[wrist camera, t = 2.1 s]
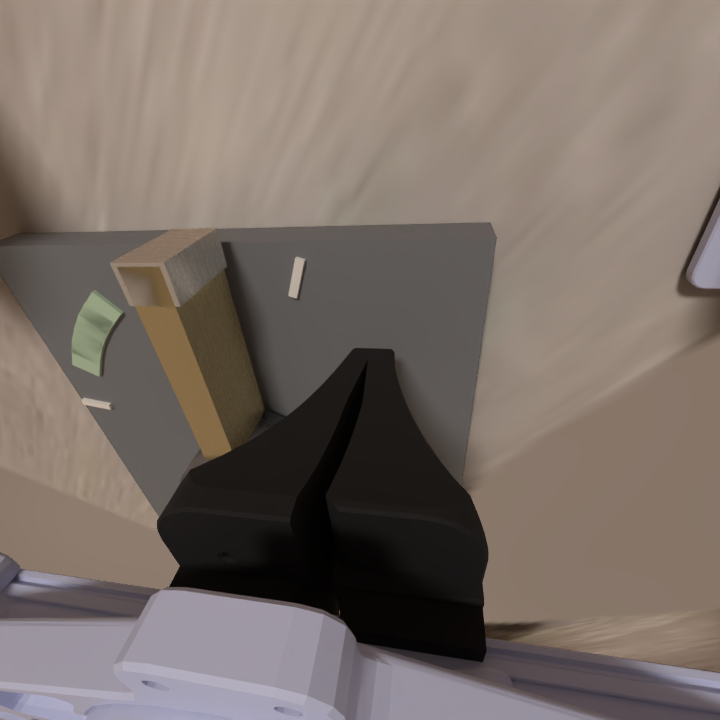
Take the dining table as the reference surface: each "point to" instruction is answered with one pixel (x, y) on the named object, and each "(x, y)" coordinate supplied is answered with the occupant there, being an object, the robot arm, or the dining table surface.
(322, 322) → the dial board
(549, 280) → the dining table surface
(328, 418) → the robot arm
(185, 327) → the brown bar with cylinder
